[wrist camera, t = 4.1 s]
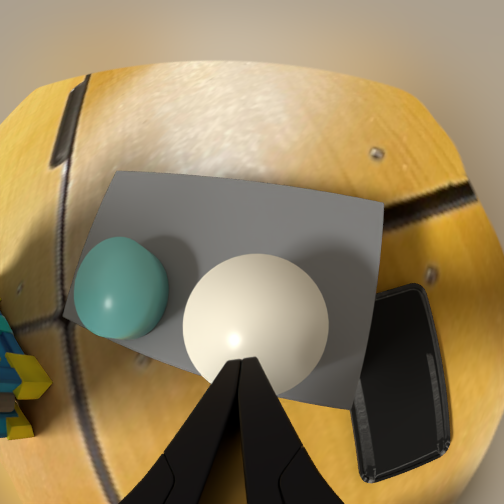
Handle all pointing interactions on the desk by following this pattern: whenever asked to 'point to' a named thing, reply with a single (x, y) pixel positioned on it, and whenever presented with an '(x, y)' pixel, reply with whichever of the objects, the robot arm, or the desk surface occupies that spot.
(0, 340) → the decorative book
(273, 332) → the cream button
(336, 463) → the desk surface
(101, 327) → the teal button
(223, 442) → the robot arm
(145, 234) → the button box
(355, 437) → the phone
